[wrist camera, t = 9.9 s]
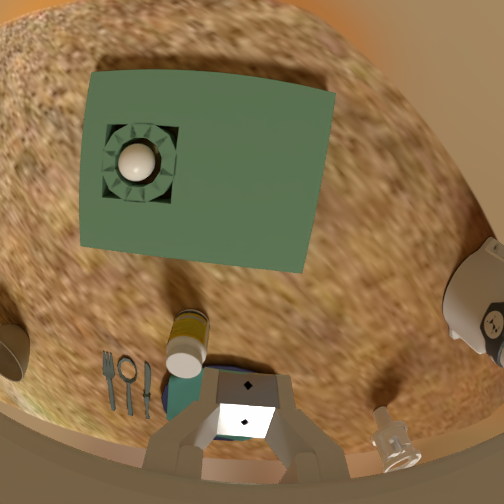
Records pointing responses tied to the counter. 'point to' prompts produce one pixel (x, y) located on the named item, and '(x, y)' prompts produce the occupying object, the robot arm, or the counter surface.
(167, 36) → the counter surface
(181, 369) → the supplement bottle
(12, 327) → the flower pot
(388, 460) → the white tall piece
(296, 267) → the putting board
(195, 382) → the cutlery set
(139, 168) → the golf ball
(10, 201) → the counter surface
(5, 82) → the counter surface
